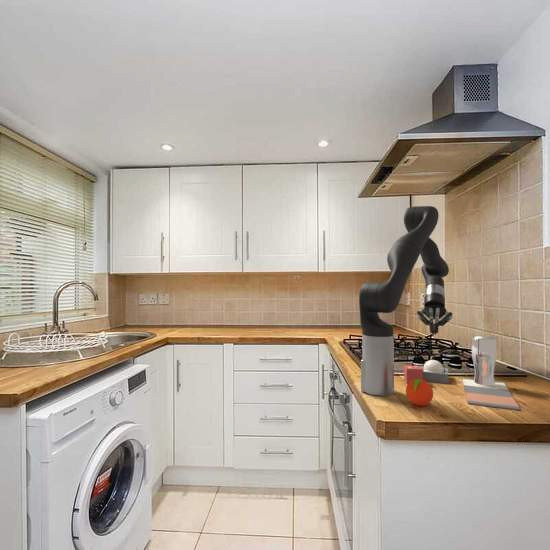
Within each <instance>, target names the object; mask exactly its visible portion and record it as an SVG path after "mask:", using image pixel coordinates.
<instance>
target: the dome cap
mask: <svg viewBox="0 0 550 550" xmlns="http://www.w3.org/2000/svg"><path fill="white" fill-rule="evenodd" d="M423 366H424V368H423V371H427V372H437V373H444V369H443V368H444V366H443V364H442V363H441V362H440V361H438V360H435V359H429V360H427V361H426V362H425V363H424V364H423Z"/></svg>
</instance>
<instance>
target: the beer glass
mask: <svg viewBox="0 0 550 550" xmlns="http://www.w3.org/2000/svg"><path fill="white" fill-rule="evenodd" d="M496 341H497V339H496V337H493V336H485V335H484V336H483V335H474V336H471V358H472V362H473V367H474V377H473V379H474V384H476V385H479V386H485V387H494V386H495V381H496V380H495V367H496V361H497V354H498V353H497V352H498V351H497V350H498V349H497V342H496Z"/></svg>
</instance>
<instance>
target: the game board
mask: <svg viewBox="0 0 550 550" xmlns="http://www.w3.org/2000/svg"><path fill="white" fill-rule="evenodd" d="M462 383H463V388H464V393H465V397H466V402H467V404H468V405H474V406H479V407H480V406H481V407H486V408H487V407H489V408H495V409H496V408H497V409H503V410H511V411H518V410H519V411H521V408H520V406H519V404H518V403H517V401H516V399H515V398H514V396H513V394H512V393H511V392H510V390H509V389H508V387H507V386H506V384H505V382H504V381H500V380H495V386H494V387H485V386H479V385H476V384H474V378H471V377H462Z"/></svg>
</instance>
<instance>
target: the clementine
mask: <svg viewBox="0 0 550 550" xmlns="http://www.w3.org/2000/svg"><path fill="white" fill-rule="evenodd" d="M405 393H406V397H407V400H409V401H410V403H412V404H413V405H415V406H418V405H419V407H422V406H427V405H428V404H431V402H432V400H433V398H434V390H433V388H432V386H431V385H430V383H429V382H428V381H425V380H421V379H414V380H412V381H410V382H409V383H408V384H406V387H405Z"/></svg>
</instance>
